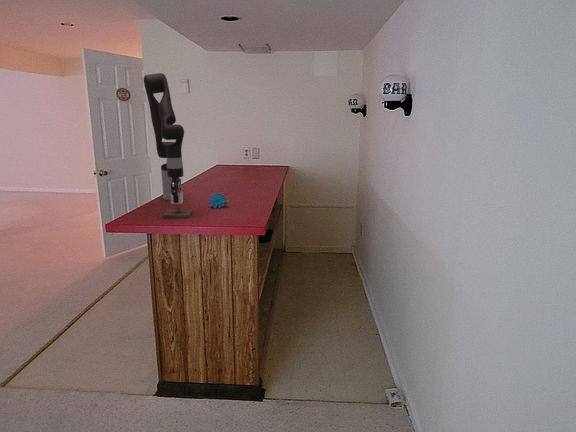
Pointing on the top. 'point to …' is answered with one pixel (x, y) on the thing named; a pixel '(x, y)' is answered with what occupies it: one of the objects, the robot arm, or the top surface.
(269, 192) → the top surface
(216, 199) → the blue piece
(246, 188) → the top surface
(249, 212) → the top surface
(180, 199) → the pale grey cube block
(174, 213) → the board
